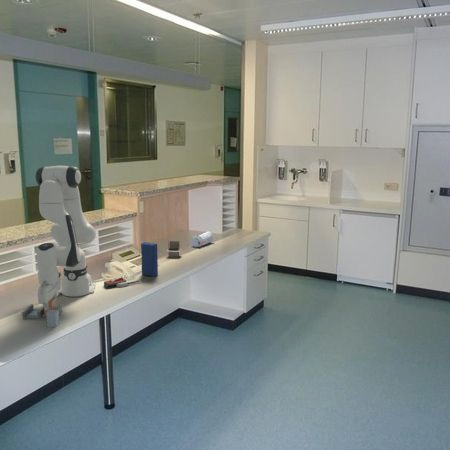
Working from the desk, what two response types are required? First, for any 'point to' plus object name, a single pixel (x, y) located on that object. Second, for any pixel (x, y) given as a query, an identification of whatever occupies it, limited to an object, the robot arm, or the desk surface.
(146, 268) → the blue rectangular block
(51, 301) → the terracotta plug
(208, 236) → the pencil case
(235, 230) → the desk surface
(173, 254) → the architectural model
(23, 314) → the slot dock
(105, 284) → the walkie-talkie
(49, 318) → the slate-blue plug
